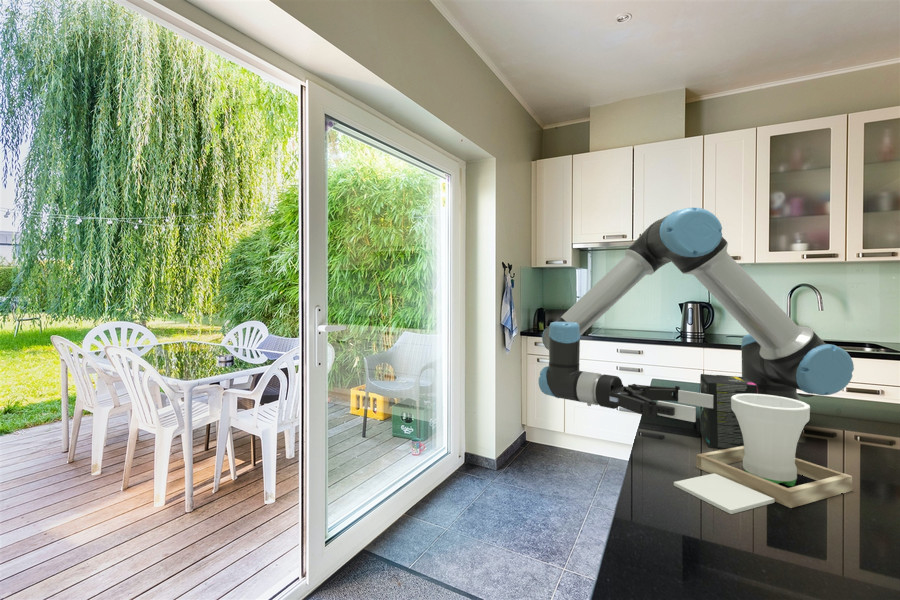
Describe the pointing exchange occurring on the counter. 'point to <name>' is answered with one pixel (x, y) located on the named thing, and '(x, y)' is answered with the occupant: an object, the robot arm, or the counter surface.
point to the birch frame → (791, 497)
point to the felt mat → (724, 493)
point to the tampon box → (722, 410)
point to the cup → (770, 434)
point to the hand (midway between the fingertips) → (704, 407)
